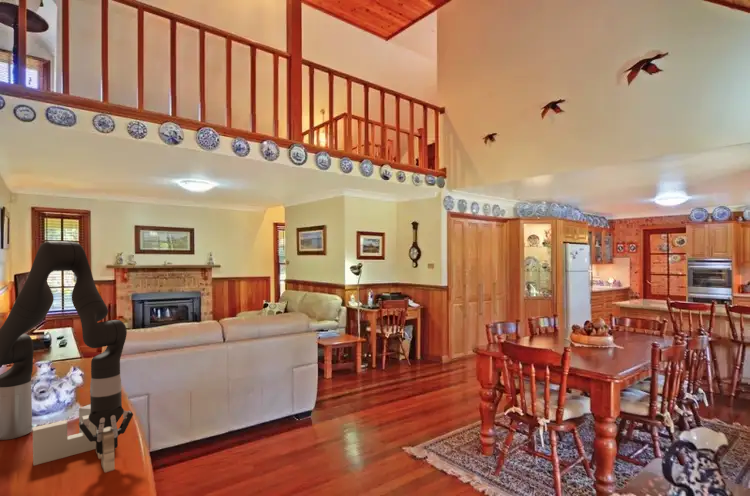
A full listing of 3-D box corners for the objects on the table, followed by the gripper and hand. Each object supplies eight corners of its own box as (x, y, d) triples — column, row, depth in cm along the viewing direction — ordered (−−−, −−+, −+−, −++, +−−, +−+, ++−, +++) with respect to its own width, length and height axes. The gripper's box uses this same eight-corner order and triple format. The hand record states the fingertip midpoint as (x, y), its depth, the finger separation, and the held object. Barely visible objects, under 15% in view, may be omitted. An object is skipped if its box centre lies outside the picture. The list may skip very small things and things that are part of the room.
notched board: (33, 465, 122) (32, 430, 122) (33, 461, 124) (32, 427, 124) (114, 443, 135) (113, 412, 135) (112, 440, 137) (111, 409, 137)
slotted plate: (95, 452, 130) (95, 419, 130) (105, 449, 131) (104, 417, 131) (104, 472, 117) (104, 436, 117) (114, 469, 119) (114, 434, 119)
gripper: (78, 400, 114) (79, 465, 114) (136, 388, 123) (137, 448, 123) (74, 393, 120) (75, 454, 120) (130, 382, 129) (131, 439, 129)
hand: (107, 451), depth 121 cm, fingers closed on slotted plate, 2 cm apart
